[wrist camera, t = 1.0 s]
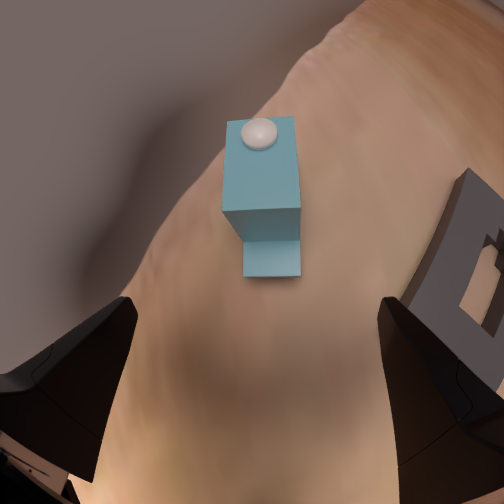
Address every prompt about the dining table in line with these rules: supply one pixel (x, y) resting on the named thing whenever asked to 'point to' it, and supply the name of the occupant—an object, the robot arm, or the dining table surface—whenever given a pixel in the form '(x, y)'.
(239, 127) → the servo
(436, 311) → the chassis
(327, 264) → the dining table surface
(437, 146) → the dining table surface
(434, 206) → the dining table surface
